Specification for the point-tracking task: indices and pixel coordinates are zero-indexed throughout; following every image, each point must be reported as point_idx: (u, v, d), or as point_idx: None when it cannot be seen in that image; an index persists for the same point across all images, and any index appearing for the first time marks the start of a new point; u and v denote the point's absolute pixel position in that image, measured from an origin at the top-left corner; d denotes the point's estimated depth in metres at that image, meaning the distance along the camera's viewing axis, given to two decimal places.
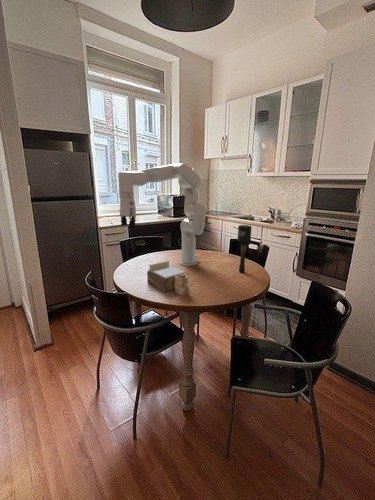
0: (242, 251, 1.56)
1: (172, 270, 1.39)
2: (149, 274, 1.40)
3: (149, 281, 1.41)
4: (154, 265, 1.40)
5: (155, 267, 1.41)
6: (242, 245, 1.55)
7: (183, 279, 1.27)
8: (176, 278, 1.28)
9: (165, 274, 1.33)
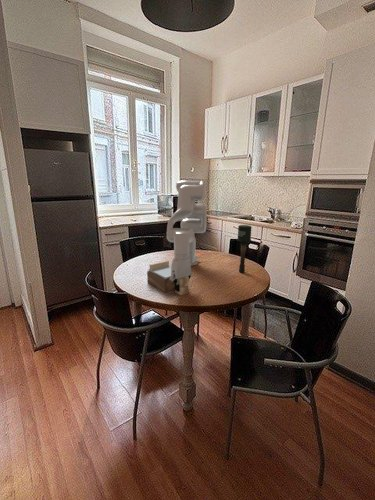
0: (242, 251, 1.56)
1: None
2: (149, 274, 1.40)
3: (149, 281, 1.41)
4: (154, 265, 1.40)
5: (155, 267, 1.41)
6: (242, 245, 1.55)
7: (183, 279, 1.27)
8: None
9: (165, 274, 1.33)
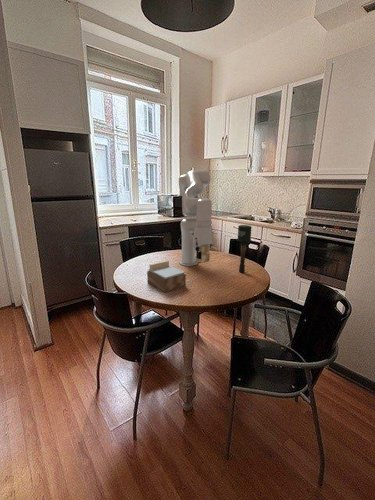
0: (242, 251, 1.56)
1: (172, 270, 1.39)
2: (149, 274, 1.40)
3: (149, 281, 1.41)
4: (154, 265, 1.40)
5: (155, 267, 1.41)
6: (242, 245, 1.55)
7: (205, 247, 1.29)
8: None
9: (165, 274, 1.33)
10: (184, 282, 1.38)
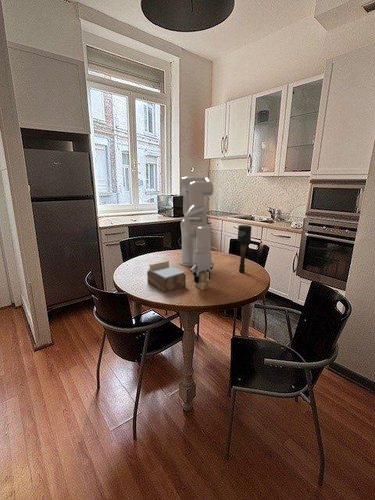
0: (242, 251, 1.56)
1: (172, 270, 1.39)
2: (149, 274, 1.40)
3: (149, 281, 1.41)
4: (154, 265, 1.40)
5: (155, 267, 1.41)
6: (242, 245, 1.55)
7: (204, 274, 1.33)
8: None
9: (165, 274, 1.33)
10: (184, 282, 1.38)
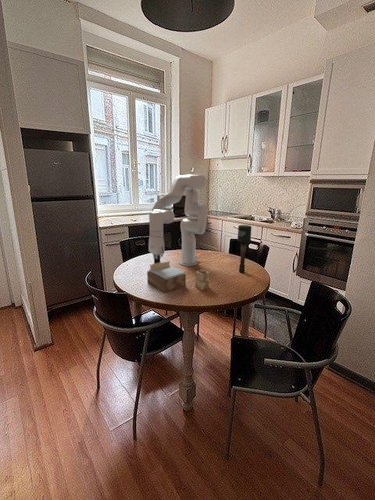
0: (242, 251, 1.56)
1: (173, 270, 1.39)
2: (149, 274, 1.40)
3: (149, 281, 1.41)
4: (155, 265, 1.40)
5: (155, 267, 1.40)
6: (242, 245, 1.55)
7: (204, 274, 1.33)
8: (197, 273, 1.35)
9: (166, 274, 1.33)
10: (184, 282, 1.38)
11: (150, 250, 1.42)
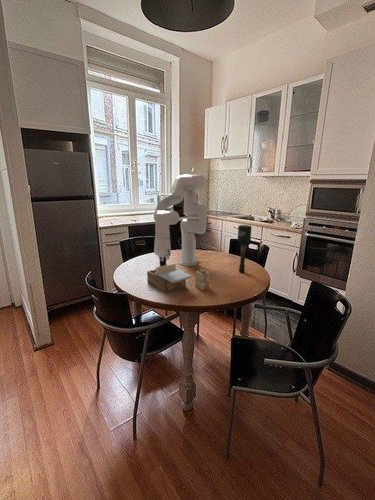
0: (242, 251, 1.56)
1: (179, 273, 1.34)
2: (149, 274, 1.40)
3: (149, 281, 1.41)
4: (161, 268, 1.35)
5: (161, 270, 1.36)
6: (242, 245, 1.55)
7: (204, 274, 1.33)
8: (197, 273, 1.35)
9: (172, 278, 1.28)
10: (184, 282, 1.38)
11: (156, 253, 1.38)
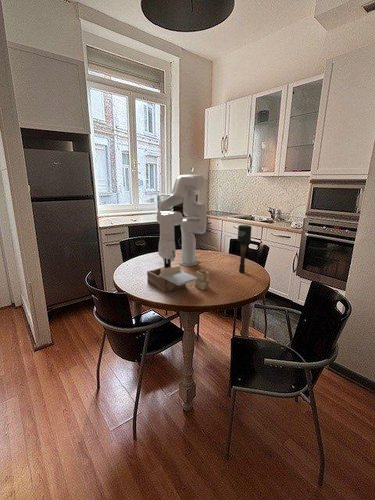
0: (242, 251, 1.56)
1: (185, 275, 1.31)
2: (149, 274, 1.40)
3: (149, 281, 1.41)
4: (165, 270, 1.32)
5: (166, 272, 1.33)
6: (242, 245, 1.55)
7: (204, 274, 1.33)
8: (197, 273, 1.35)
9: (178, 280, 1.25)
10: None
11: (161, 254, 1.35)
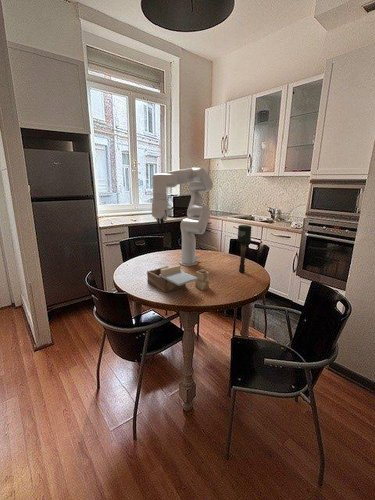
0: (242, 251, 1.56)
1: (185, 276, 1.31)
2: (149, 274, 1.40)
3: (149, 281, 1.41)
4: (165, 270, 1.32)
5: (166, 272, 1.33)
6: (242, 245, 1.55)
7: (204, 274, 1.33)
8: (197, 273, 1.35)
9: (178, 280, 1.25)
10: None
11: (154, 215, 1.41)
